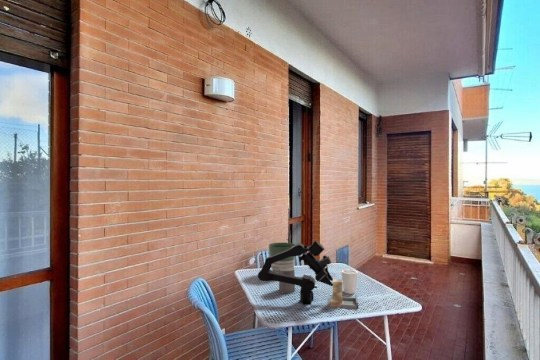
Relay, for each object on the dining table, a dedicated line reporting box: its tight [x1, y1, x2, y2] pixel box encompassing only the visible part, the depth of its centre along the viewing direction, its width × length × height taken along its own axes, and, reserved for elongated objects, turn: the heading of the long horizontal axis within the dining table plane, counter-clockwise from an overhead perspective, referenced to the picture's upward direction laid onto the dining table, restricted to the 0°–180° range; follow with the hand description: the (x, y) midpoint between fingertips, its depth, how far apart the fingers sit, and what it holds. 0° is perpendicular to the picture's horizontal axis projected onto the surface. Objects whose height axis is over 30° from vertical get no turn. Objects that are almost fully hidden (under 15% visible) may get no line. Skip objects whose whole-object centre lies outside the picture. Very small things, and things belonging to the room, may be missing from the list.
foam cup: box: [341, 269, 359, 295], centre depth 191 cm, size 10×9×13 cm
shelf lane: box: [326, 294, 359, 309], centre depth 173 cm, size 16×12×4 cm
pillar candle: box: [278, 267, 296, 294], centre depth 197 cm, size 10×10×15 cm
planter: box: [268, 242, 296, 273], centre depth 232 cm, size 20×20×21 cm
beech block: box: [332, 278, 343, 305], centre depth 174 cm, size 5×5×12 cm
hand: (332, 282), depth 174 cm, fingers open, 9 cm apart
